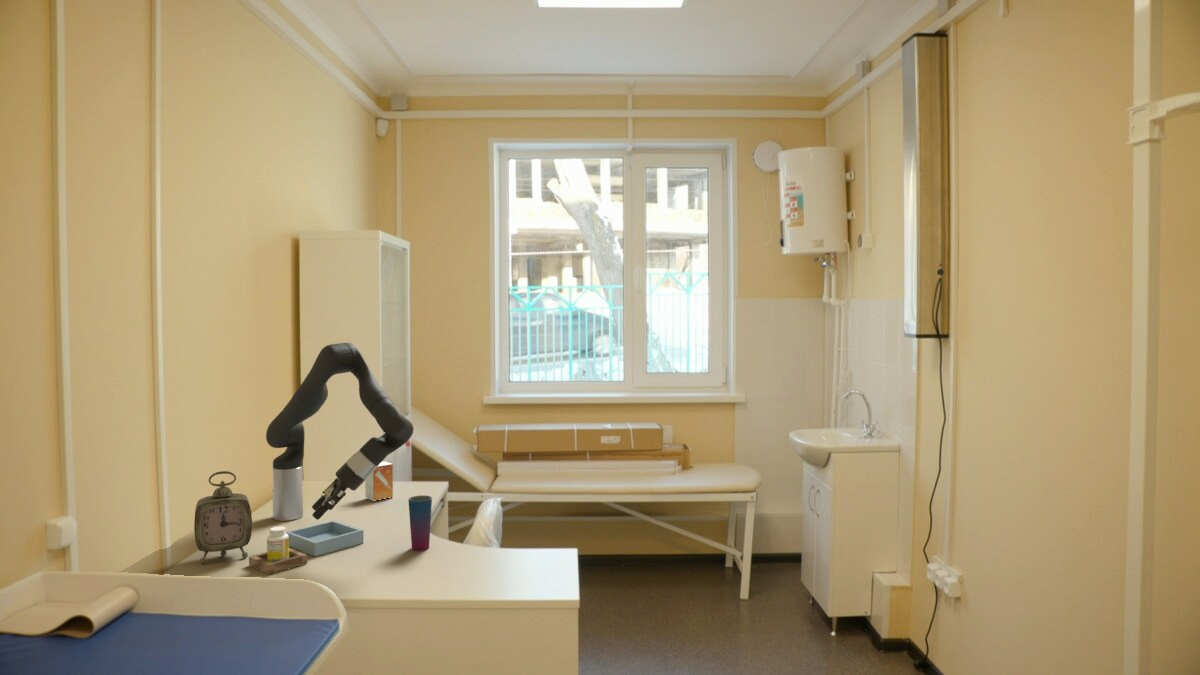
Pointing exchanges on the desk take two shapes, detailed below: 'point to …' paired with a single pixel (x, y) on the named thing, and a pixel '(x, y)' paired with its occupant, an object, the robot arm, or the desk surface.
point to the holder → (263, 564)
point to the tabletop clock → (222, 520)
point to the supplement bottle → (277, 544)
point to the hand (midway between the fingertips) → (314, 513)
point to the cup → (420, 521)
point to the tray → (325, 538)
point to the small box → (380, 482)
